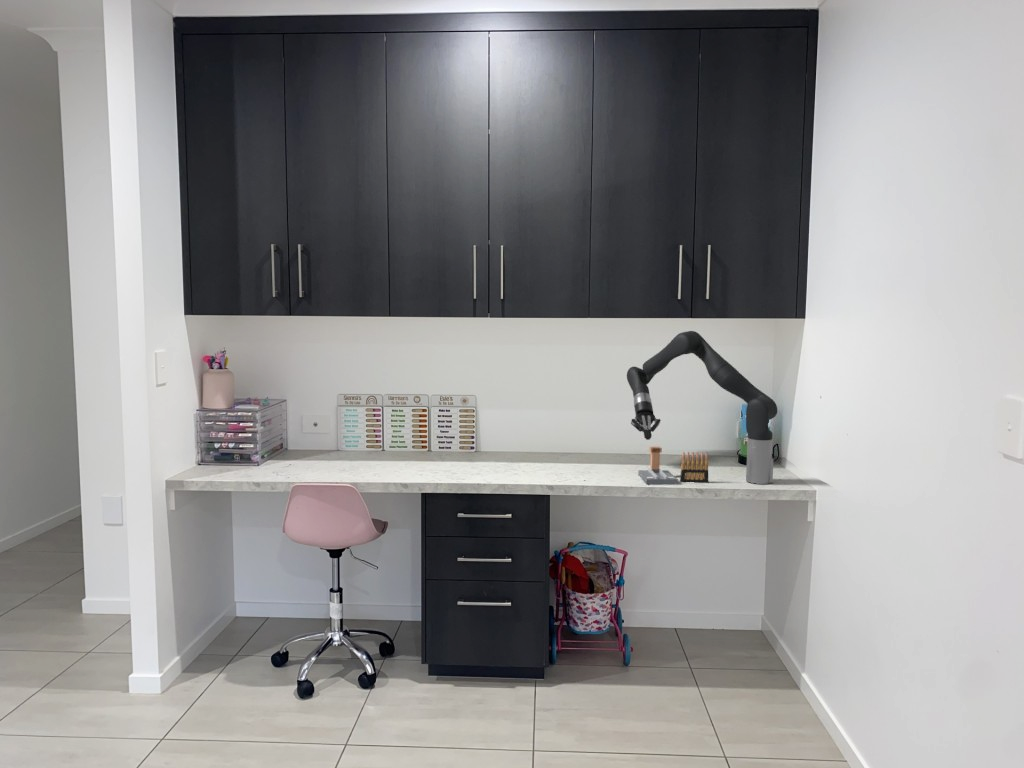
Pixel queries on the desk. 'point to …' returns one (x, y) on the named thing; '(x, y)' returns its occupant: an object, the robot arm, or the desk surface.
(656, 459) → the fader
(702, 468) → the ammunition clip
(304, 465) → the desk surface
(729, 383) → the robot arm
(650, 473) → the fader console
